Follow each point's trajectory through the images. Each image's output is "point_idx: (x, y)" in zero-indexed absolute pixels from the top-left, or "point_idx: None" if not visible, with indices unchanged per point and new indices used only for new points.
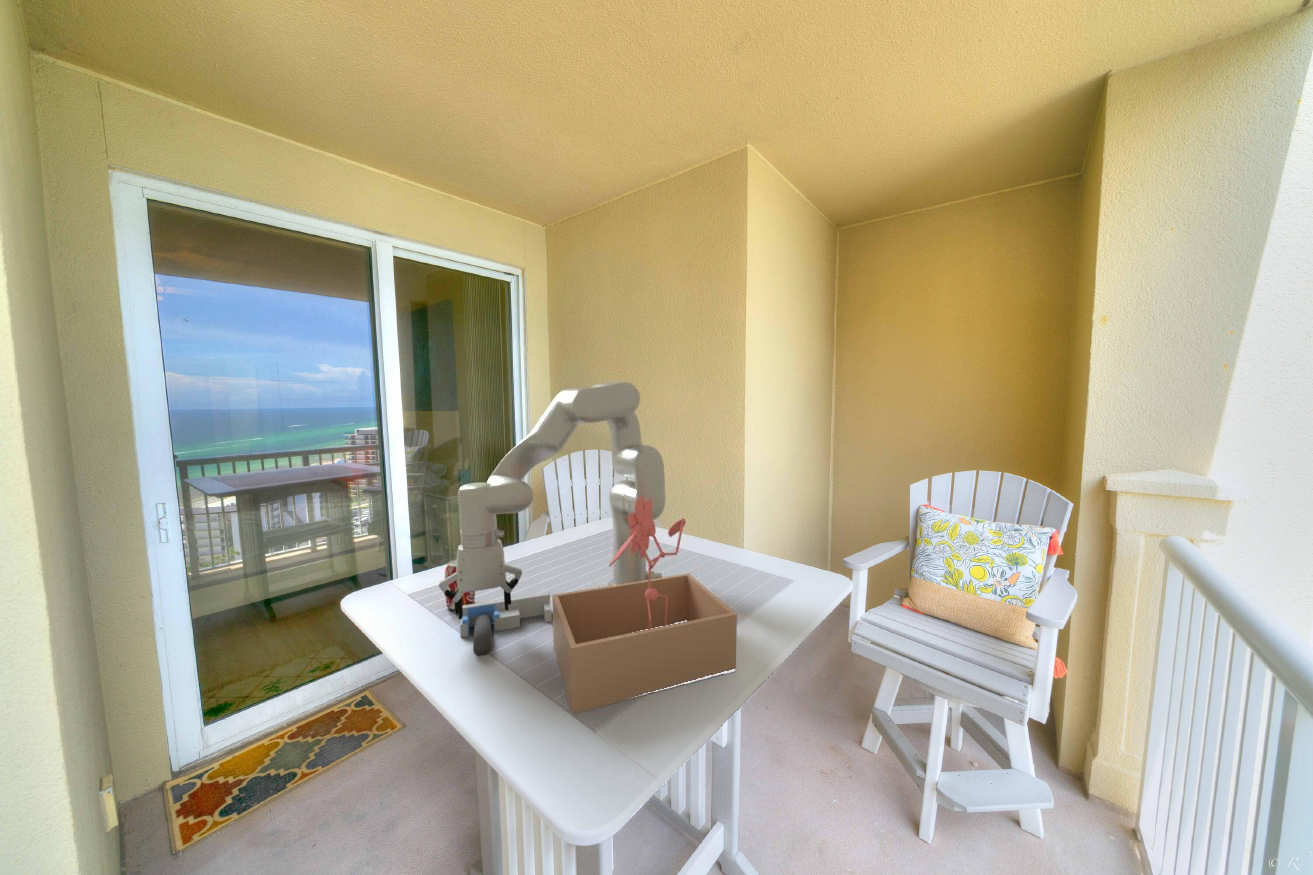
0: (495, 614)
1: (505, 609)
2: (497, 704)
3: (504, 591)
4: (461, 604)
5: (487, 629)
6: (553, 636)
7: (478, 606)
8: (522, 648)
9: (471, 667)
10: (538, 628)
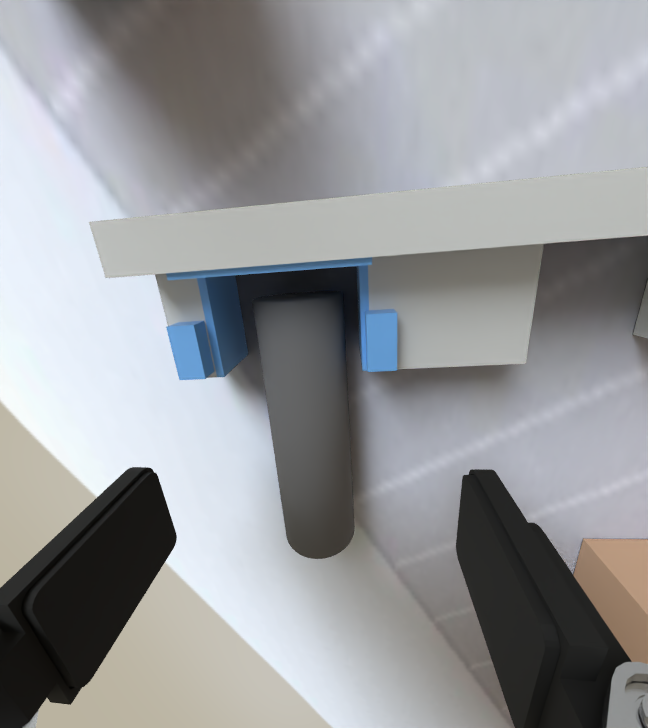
0: (375, 362)
1: (461, 559)
2: (373, 682)
3: (542, 683)
4: (100, 640)
5: (333, 470)
6: (623, 596)
7: (244, 267)
8: None
9: (294, 551)
10: (574, 387)
